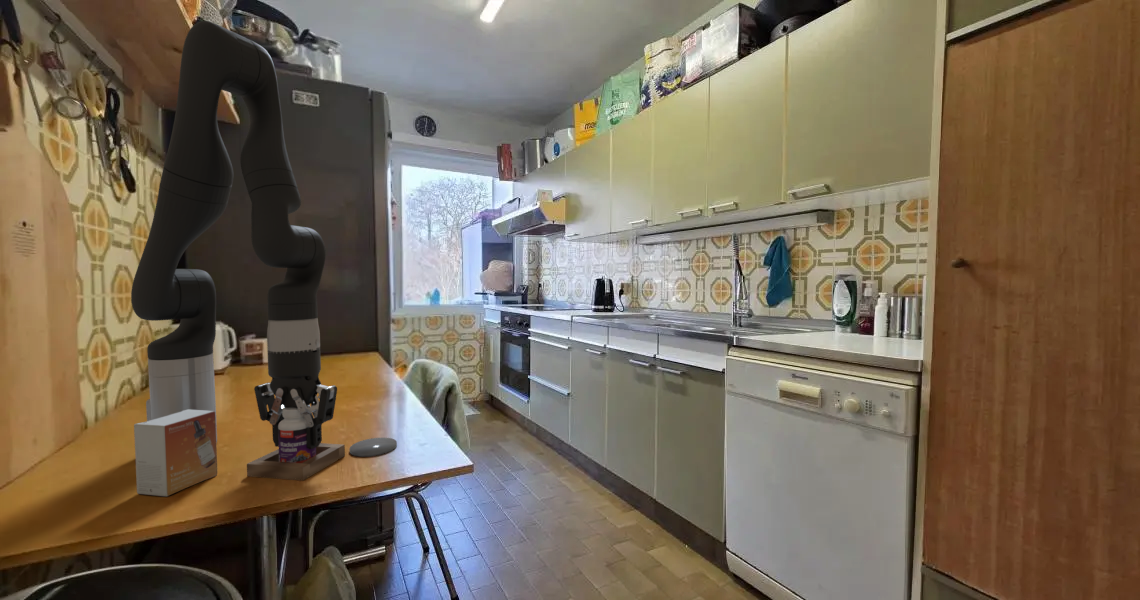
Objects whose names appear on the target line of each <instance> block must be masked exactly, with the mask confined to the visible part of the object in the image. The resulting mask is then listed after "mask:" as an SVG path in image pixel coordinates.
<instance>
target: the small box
mask: <svg viewBox="0 0 1140 600" xmlns="http://www.w3.org/2000/svg"><path fill="white" fill-rule="evenodd" d="M216 425H217V419H216V420H215V411H206V410H190V409H187V410H184V411H182V412H178V413H175V414H171V415H168V416H164V417H161V418H157V419H154V420H150V421H147V420H146V421H143V422H138V423H134V425H133V433H134V452H135V454H134V455H135V475H136V478H135V479H136V480H135V481H136V493H137V494H138V495H146V496H157V497H169V496H171V495H174V494H175V493H177V492H180V491H182V490H185V489H186V488H189V487H191V486H194V485H196V484H199V483H201V482H203V481H206V480H209V479H211V478H214V477H216V476H217V475H218V454H217V453H218V452H217V451H218V450H217V443H216Z"/></svg>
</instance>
